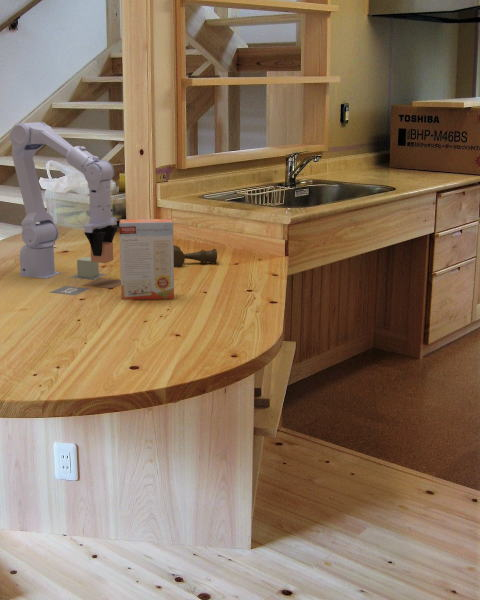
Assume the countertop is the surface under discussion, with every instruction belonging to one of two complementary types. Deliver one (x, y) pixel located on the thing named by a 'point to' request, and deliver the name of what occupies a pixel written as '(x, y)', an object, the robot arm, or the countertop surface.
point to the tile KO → (69, 290)
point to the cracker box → (146, 259)
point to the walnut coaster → (104, 283)
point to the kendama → (194, 256)
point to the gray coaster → (88, 278)
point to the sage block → (87, 268)
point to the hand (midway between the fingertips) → (101, 254)
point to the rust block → (104, 253)
